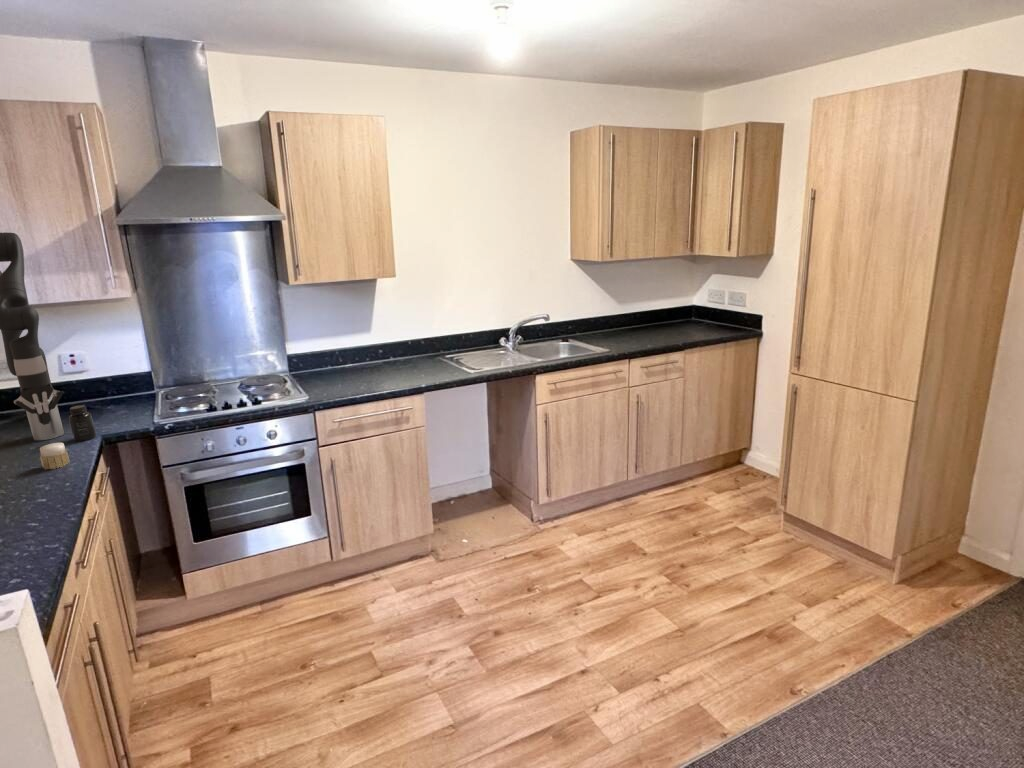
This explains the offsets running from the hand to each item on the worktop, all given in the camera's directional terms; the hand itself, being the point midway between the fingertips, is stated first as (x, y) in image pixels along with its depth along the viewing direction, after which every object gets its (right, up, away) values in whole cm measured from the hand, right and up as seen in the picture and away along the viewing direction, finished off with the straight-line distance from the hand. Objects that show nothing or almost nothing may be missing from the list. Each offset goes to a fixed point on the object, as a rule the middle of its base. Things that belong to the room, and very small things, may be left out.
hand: (45, 423), depth 196 cm
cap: (+1, -12, +4) cm, 13 cm away
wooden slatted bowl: (+1, -14, +4) cm, 14 cm away
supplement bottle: (-7, -7, +28) cm, 30 cm away
